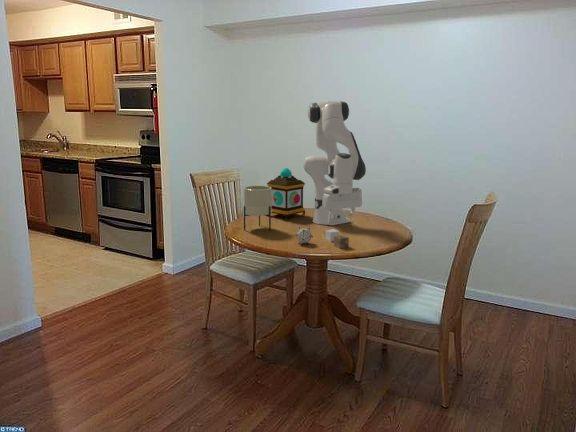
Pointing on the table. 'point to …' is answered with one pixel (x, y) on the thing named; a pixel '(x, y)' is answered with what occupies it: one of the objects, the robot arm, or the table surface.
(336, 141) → the robot arm
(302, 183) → the decorative lantern
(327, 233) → the grey block
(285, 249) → the table surface
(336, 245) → the walnut block
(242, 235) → the table surface
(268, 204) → the planter
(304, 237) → the game die
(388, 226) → the table surface
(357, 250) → the table surface
